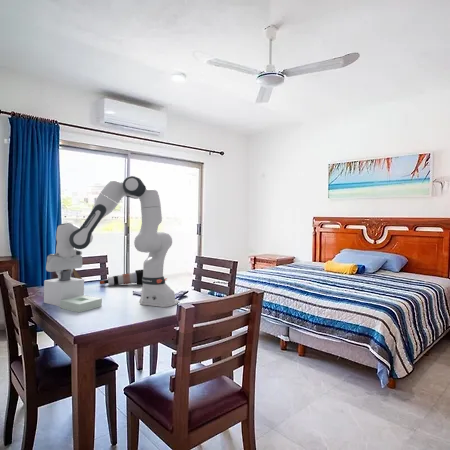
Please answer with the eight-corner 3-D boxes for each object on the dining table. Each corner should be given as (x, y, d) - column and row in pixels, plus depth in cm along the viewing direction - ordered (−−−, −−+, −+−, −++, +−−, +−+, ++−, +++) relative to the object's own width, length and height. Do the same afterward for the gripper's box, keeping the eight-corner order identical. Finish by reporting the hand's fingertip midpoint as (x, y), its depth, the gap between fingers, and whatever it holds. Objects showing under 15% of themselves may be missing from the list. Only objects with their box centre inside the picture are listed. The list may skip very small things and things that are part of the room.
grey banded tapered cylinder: (100, 291, 229) (99, 277, 233) (151, 284, 241) (149, 270, 245) (100, 288, 221) (98, 273, 224) (152, 280, 233) (150, 266, 236)
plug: (70, 285, 185) (70, 267, 184) (63, 286, 181) (63, 267, 181) (65, 284, 187) (65, 266, 186) (58, 285, 183) (59, 267, 183)
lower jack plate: (101, 306, 178) (101, 298, 178) (79, 312, 165) (79, 304, 165) (83, 302, 184) (83, 295, 184) (60, 308, 172) (60, 300, 172)
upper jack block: (83, 301, 187) (84, 279, 187) (61, 306, 175) (61, 283, 174) (66, 297, 194) (67, 276, 193) (43, 302, 181) (44, 280, 181)
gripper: (51, 254, 173) (50, 281, 173) (84, 251, 191) (84, 275, 191) (43, 253, 176) (42, 280, 176) (76, 250, 194) (76, 274, 194)
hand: (64, 277), depth 184 cm, fingers closed on plug, 4 cm apart
